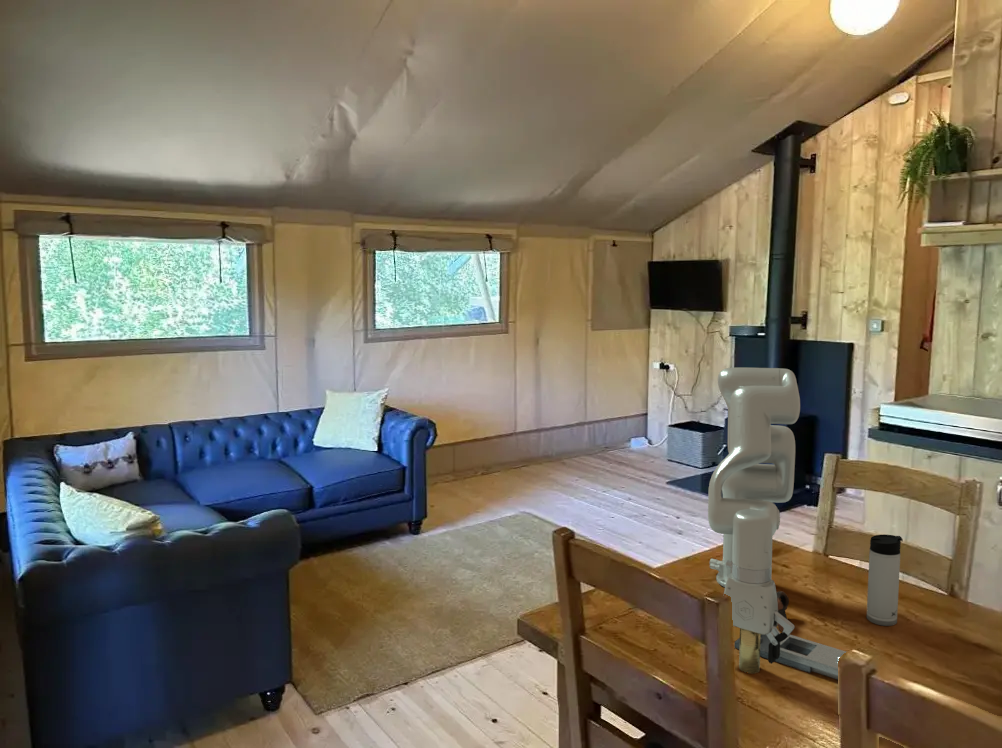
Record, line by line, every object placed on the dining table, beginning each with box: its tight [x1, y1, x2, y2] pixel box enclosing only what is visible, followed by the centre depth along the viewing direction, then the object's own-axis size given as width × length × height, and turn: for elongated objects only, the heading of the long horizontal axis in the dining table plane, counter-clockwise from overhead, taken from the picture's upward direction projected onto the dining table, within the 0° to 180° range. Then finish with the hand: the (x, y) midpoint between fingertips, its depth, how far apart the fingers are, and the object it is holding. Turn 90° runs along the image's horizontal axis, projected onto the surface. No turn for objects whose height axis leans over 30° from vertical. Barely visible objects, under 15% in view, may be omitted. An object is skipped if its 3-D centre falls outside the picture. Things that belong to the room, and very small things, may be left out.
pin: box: [738, 628, 761, 674], centre depth 153 cm, size 5×5×11 cm
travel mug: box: [866, 534, 903, 627], centre depth 172 cm, size 6×7×20 cm
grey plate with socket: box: [734, 634, 847, 680], centre depth 157 cm, size 24×8×3 cm, turn 48°
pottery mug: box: [776, 590, 790, 632], centre depth 175 cm, size 12×10×8 cm
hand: (749, 652), depth 153 cm, fingers open, 9 cm apart
